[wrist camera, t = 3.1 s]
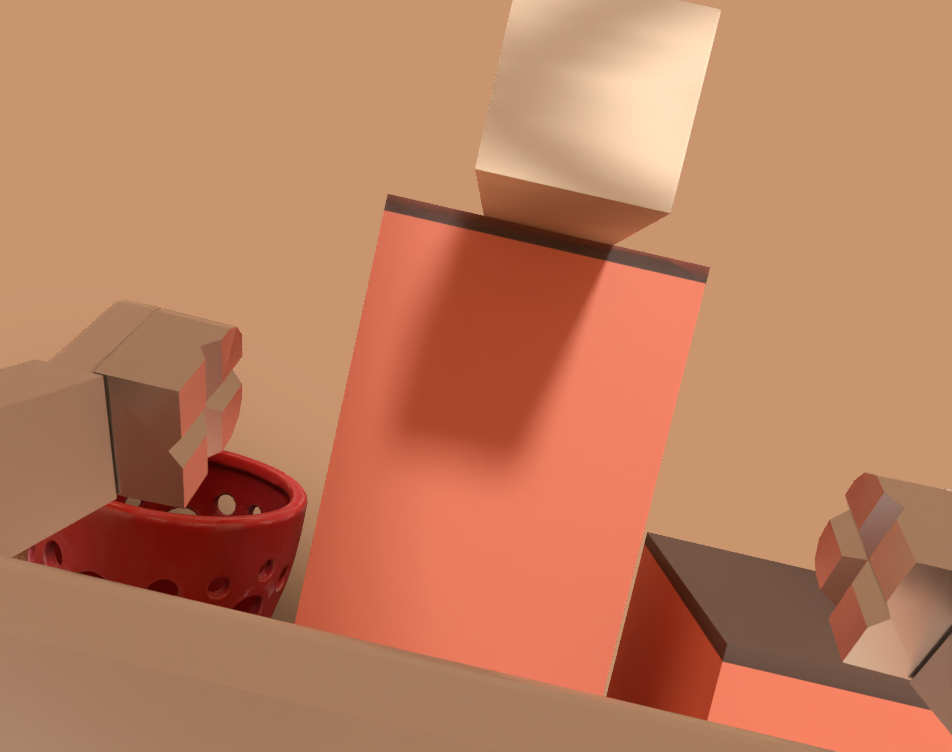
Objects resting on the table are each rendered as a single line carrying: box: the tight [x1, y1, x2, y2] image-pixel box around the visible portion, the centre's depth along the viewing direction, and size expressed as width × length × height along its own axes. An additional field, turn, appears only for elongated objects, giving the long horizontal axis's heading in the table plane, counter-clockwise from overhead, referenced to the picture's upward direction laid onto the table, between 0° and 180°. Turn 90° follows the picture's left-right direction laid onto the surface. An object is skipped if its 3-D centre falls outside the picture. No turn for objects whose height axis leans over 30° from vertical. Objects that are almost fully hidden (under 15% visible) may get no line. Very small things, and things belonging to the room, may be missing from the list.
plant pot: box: [27, 450, 307, 618], centre depth 41 cm, size 13×13×12 cm
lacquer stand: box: [295, 194, 952, 752], centre depth 27 cm, size 22×12×26 cm, turn 88°
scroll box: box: [475, 0, 721, 245], centre depth 24 cm, size 4×17×4 cm, turn 178°
